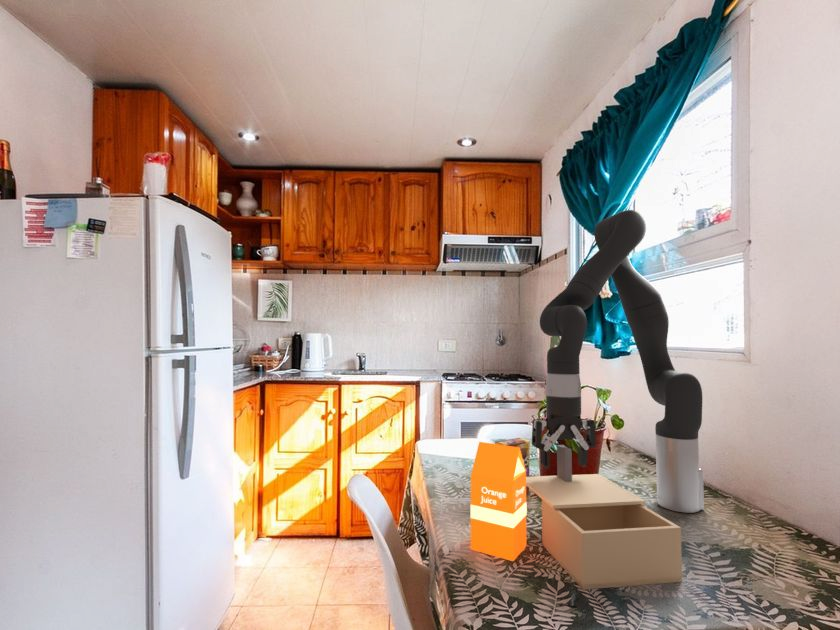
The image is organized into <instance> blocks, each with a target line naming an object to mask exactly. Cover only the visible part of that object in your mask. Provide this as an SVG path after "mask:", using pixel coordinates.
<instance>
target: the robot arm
mask: <svg viewBox="0 0 840 630" xmlns="http://www.w3.org/2000/svg"><path fill="white" fill-rule="evenodd" d="M593 233H594V234H593V236H594V240H595V244H596V246H597V248H598V251H597V252H595V254H593V255H592V256H591V257H590V258H588V259H587V260H586V262H584V263H583V264H582V266H581V267H580V268H579V269H578V270H577V271H576V272H575V274H574V275H573V276H572V278H571V280H569V282H568V284H567V285H566V287H565V289H563V290H562V291H561V292H560V293H558V294H557V295H556V296H555V297H554V298H553V299H552V300H551V301H550V302H549V303H548V304H547V305H546V306H545V307H544V308H543V310H542V312H541V314H540V316H539V317H540V318H539V327H540V330H541V332H542V333H544V334H545V335H547V336H549V337H560V339H559V340H560V341H559V343H558V345H556V346H553V347H551V348H549V349H548V351H547V353H546V380H545V381H546V382H545V394H546V395H545V401H546V403H545V407H546V408H545V409H546V410H545V413H546V417H545V420H539V419H533V420H532V431H531V432H532V433H531V445H532V447H534V448H536V449H538V450H539V451H540V454H539V455H540V464H541V465H542V466H543V467H544V468H545V469H550V467H551V458H550V457H551V452H550V449H551V447H552V445H554V444H555V443H556V442H557V440H559V441H564V440H568V441H569V440H570V441H574V442H575V444H577V446H578V447H577V464H578V465H579V467H582V468H584V467H586V466H587V464H588V463H589V454H588V453H589V449H590V448H592V447H593V448H595V447H597V436H596V435H597V434H596V422H595V420H594V419H591V418H589V417H588V418H587V417H586V418H584V419H582V416H581V415H582V385H581V384H582V383H581V382H582V381H581V377H580V370H581V369H580V354H581V351H582V348H583V343H584V340H585V335H586V331H587V328H588V320H587V319H588V318H587V316H586V313H585V312H584V310H586V309H588V308H589V307H591V306H592V305H593V304H594V302H595V301H596V299H597V297H598V296H599V293H600V292H601V291H602V290H603V287H604V286H605V285H606V283H607V281H608V280H610V279H609V278H611V279H612V281H613V284H614V287H615V289H616V292H617V294H618V297H619V301H620V303H621V307H622V310H623V312H624V316H625V319H626V321H627V323H628V326H629V329H630V331H631V333H632V337H633V340H634V343H635V346H636V349H637V351H638V354H639V358H640V360H641V361H640V362H641V365H642V369H643V373H644V378H645V382H646V386H647V389H648V392H649V395H650V396H651V397H650V398H652V399H653V401H655V402H656V403H657V404H659V405H662V406H664V417H663V419H662V420H658V421H656V423H655V425H654V427H655V429H654V431H655V457H656V458H655V459H656V460H655V463H656V464H655V465H656V467H655V468H656V503H657V504H658V506H660V507H662V508H664V509H667V510H669V511H673V512H679V513H685V514H687V513H689V514H694V513H698V512H700V511H702V510H705V496H704V492H705V491H704V470H703V469H702V468H700V454H699V453H700V452H699V450H700V449H699V431H700V429H701V427H702V423H703V388H702V386H701V383H700V381H699V379H698V378H697V377H696V376H695V375H693V374H692V373H690V372H686V371H678V370H676V369H675V367H674V365H673V363H672V360H671V357H670V354H669V352H668V334H669V324H670V323H669V315H668V312H667V309H666V305H665V303H664V301H663V298H662V296H661V293H660V291H658V289H657V288H656V287H655V286H654V285H653V284H652V283H651V282H650V281H649V280H648V279H647V278H645V277H644V276H643V275H642V274H640V273H639V272H638V271H637V270H636V269H635V267H634V266H633V264H632V262H631V260H630V258H629V254H631V253H632V251H633V250H634V249H636V247H637V246H638V245H639V244H641V242H642V241H643V239H644V238H645V236H646V233H647V224H646V221H645V219H644V216H643V215H642V214H640V212H638V211H636V210H634V209H626V210H625V209H624V210H623V211H619V212H617V213H615V214H612V215H611V216H608V217H606V218H604V219H602V220H601V221H599V222H597V223H596V225H595V226H594V231H593ZM582 427H583V429H584V437H585V438H584V437H583V435H582V434H581V433H580V430H581V428H582ZM545 428H546V429H547V431H546V433H545V435H544V436H543V435H542V434H543V431H544V430H545ZM542 436H543V437H542ZM542 438H543V439H542Z"/></svg>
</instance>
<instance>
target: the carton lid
mask: <svg viewBox="0 0 840 630" xmlns="http://www.w3.org/2000/svg"><path fill="white" fill-rule="evenodd" d="M572 455H573V453H572V449H571V448H570V447H568V446H566V445H564V444H557V445H556V466H557V467H556V472H557V475H540V476H539V475H538V476H537V475H535V476H529V477H526V486H527V487H529V490H531V491H532V492H533V493H535V495H537V496H538V497H539V498H540V499H541V501H542V500H544V501H545V502H546V503H547V504H548V505H549V506H550V507H552V508H553V509H556V508H576V507H596V506H616V505H636V504H641V505H646V504H647V501H646V500H645V499H643V498H642V497H640V496H638V495H636V494H634V493H632V492H631V491H629V490H628V489H625V488H623V487H622V486H621V485H618V484H617V483H615V482H613V481H611V480H609V479H608V478H606V477H604V476H602V475H601V474H599V473H593V474H592V473H590V474H586V473H585V474H573V465H572V464H573V462H572V460H573V459H572V457H573V456H572Z"/></svg>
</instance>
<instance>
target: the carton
mask: <svg viewBox="0 0 840 630" xmlns="http://www.w3.org/2000/svg"><path fill="white" fill-rule="evenodd" d="M541 536H542V537H541V543H542V544H541V545H542V546H543V547H544V548H545V549H546V551H548V552H549V554H550V555H551V556H552V557H553V558H554V559H555V560H556V561H557V562H558V564H559V565H560V567H562V568H563V569H564V570H565V571H566V573H568V575H569V576H570V577H571V578H572V579H573V580H574V581H575V583H576V584H577V585H578V586H579V587H580V588H581V590H594V589H608V588H619V587H620V588H621V587H633V586H645V585H646V586H647V585H658V584H660V585H661V584H670V583H672V584H673V583H674V584H675V583H683V567H682V566H683V563H682V562H683V561H682V555H683V554H682V527H681V526H679V525H677V524H675V523H674V522H672V521H671V520H669V519H667V518H665V517H663V516H661V515H660V514H658V513H657V512H656V511H653V510H652V509H650V508H648V507H646V506H645V505H644V504H636V505H616V506H596V507H576V508H556V509H553V508H552V507H550V506H549V505H548V504H547V503H546V502H545V501H544V500H542V499H541Z"/></svg>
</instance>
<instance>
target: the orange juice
mask: <svg viewBox="0 0 840 630" xmlns="http://www.w3.org/2000/svg"><path fill="white" fill-rule="evenodd" d="M527 506H528V505H527V501H526V470H525V466H524V462H523V459H522V455H521V451H520V448H519V447H512V446H505V445H498V444H495V443H490V442H482V441H479V442H478V445H477V451H476V454H475V458H474V462H473V467H472V470H471V473H470V550H473V551H476V552H479V553H483V554H486V555H490V556H493V557H496V558H500V559H504V560H507V561H511V562H514V561H515V560H516V559H517V558H518V556H519V555H520V554H521V553H522V552H523V550H524V549H525V548H526V547H527V514H528V513H527V512H528V511H527Z"/></svg>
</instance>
